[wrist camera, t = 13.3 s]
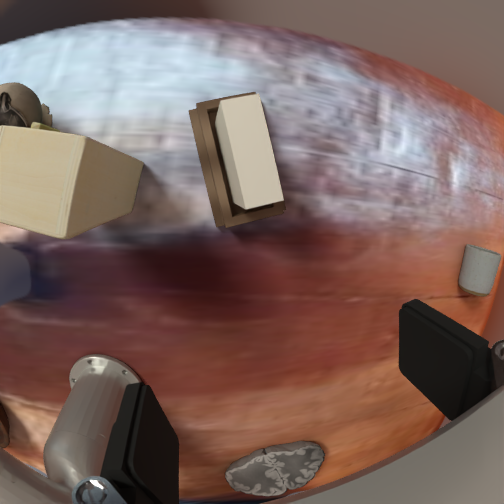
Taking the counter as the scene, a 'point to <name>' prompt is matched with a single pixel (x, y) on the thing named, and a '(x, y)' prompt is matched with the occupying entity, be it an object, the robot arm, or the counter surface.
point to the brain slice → (276, 468)
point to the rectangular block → (247, 152)
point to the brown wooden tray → (222, 170)
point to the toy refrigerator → (62, 181)
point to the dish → (4, 429)
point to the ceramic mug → (478, 270)
